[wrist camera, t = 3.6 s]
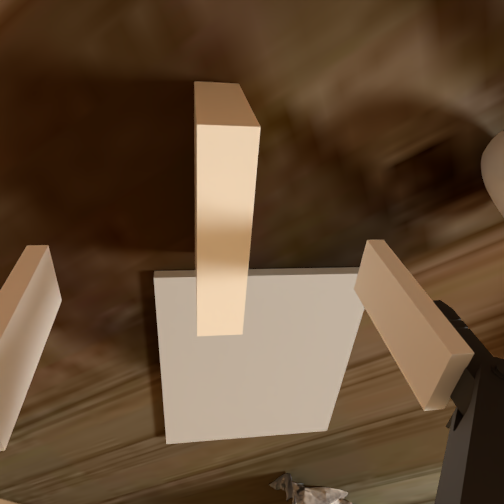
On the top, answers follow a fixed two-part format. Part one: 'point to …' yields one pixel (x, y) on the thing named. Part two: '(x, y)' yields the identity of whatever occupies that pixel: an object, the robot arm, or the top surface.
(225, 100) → the block
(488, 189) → the donut
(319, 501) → the meal
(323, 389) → the mat
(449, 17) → the top surface
